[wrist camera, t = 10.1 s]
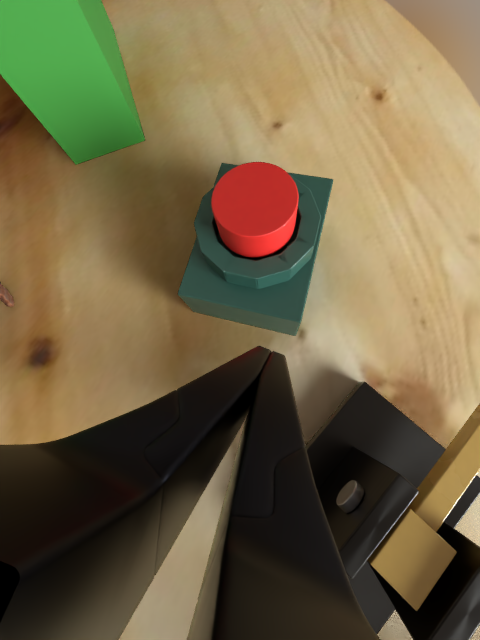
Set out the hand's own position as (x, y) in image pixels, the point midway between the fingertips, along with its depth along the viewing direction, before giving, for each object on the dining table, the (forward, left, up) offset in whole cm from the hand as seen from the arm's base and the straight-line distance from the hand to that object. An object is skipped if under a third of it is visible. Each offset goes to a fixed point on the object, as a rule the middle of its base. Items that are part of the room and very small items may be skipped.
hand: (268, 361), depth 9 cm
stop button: (+2, +10, -8) cm, 13 cm away
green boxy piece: (+2, +10, -13) cm, 17 cm away
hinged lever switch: (+3, -9, -13) cm, 16 cm away
